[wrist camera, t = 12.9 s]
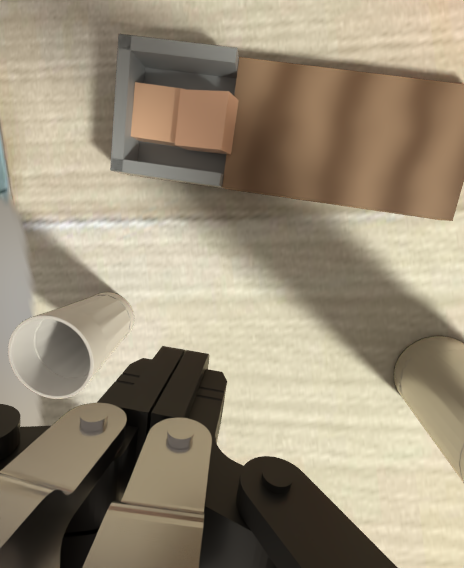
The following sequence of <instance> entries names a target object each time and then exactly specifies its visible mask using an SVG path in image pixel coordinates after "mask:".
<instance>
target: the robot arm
mask: <svg viewBox="0 0 464 568" xmlns="http://www.w3.org/2000/svg"><path fill="white" fill-rule="evenodd" d="M208 364H209V354H206V353H200V352H194V351H189V350H183V349H177V348H171V347H165V346H162V347H161V349H160V350H159V351H158V353H157V354H156V355H155V357H154V358H153V359H152V360H151V359H145V358H142V359H140V360H138V361H136V362H134V363H132V364H130V365H129V366H128V367H127V369H126V370H125V371H124V372H123V374H121V375H120V377H119V378H118V379H117V381H116V382H114V383H113V385H112V386H111V387H110V388H109V389H108V390H107V392H106V393H105V394H104V395H103V396H102V397H101V398H100V400H99V401H98V402H97V403H89V404H84V405H81V406H78V407H75V408H73V409H71V410H70V411H68V412H67V413H66V414H64V415H63V416H62V417H61V418H60V419H59V420H58V421H56V422H55V423H54V424H53V425H52V426H35V427H20V413H19V411H18V410H17V409H15V408H14V407H11V406H8V405H4V404H0V568H397V567H396V566H395V565H394V564H393V563H392V562H391V561H390V560H389V559H388V558H387V557H386V556H385V555H384V554H383V553H382V552H381V551H380V550H379V549H378V548H377V546H376V545H375V544H374V543H373V542H372V541H371V540H370V539H369V538H368V537H367V536H366V535H365V534H364V533H363V532H362V531H361V530H360V529H359V528H358V527H357V526H356V525H355V524H354V523H353V522H352V521H351V520H350V519H349V518H348V517H347V516H346V515H345V514H344V513H343V512H342V511H341V510H340V509H339V508H338V507H337V506H336V505H335V504H334V503H333V502H332V501H331V500H330V499H329V498H328V497H327V496H326V495H325V494H324V493H323V492H322V491H321V490H320V489H319V488H318V487H317V486H316V485H315V484H314V483H313V482H312V481H311V480H310V479H309V478H308V477H307V476H306V475H305V474H304V473H303V472H302V471H301V470H300V469H299V468H298V467H296V466H295V465H293V464H292V463H290V462H288V461H286V460H283V459H280V458H276V457H269V456H264V457H258V458H254V459H252V460H250V461H249V462H247V463H246V464H245V465H244V466H243V465H241V464H239V463H236V462H235V461H233V460H231V459H230V458H228V457H227V456H226V455H224V454H223V453H222V452H221V450H220V449H219V447H218V446H217V438H218V434H219V429H220V424H221V417H222V411H223V404H224V398H225V392H226V385H227V380H226V378H225V376H224V375H223V373H222V372H219V371H213V370H208ZM394 382H395V385H396V388H397V390H398V392H399V393H400V395H401V396H402V398H403V399H404V401H405V402H406V403H407V405H408V406H409V407H410V409H411V410H412V412H413V413H414V415H415V416H416V417H417V419H418V420H419V422H420V423H421V424H422V426H423V427H424V429H425V430H426V431H427V433H428V434H429V435H430V437H431V438H432V440H433V441H434V442H435V444H436V445H437V447H438V448H439V449H440V451H441V452H442V454H443V455H444V456H445V458H446V459H447V460H448V462H449V463H450V465H451V466H452V467H453V469H454V470H455V472H456V473H457V474H458V476H459V477H460V478H461V480H462V481H463V483H464V343H462V342H461V341H459V340H456V339H454V338H451V337H445V336H433V337H428V338H424V339H421V340H419V341H417V342H415V343H413V344H412V345H410V346H409V347H408V348H407V349H406V350H405V351H404V352H403V353H402V354H401V356H400V357H399V359H398V360H397V363H396V366H395V370H394Z"/></svg>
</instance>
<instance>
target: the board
mask: <svg viewBox="0 0 464 568" xmlns="http://www.w3.org/2000/svg"><path fill="white" fill-rule="evenodd" d="M234 96H235V97H236V98H237V99H238V100H239V102H238V109H237V116H236V123H235V130H234V137H233V144H232V151H231V155H229V154H226V162H225V169H224V177H223V185H222V188H224V189H230V190H237V191H244V192H251V193H258V194H265V195H272V196H279V197H285V198H292V199H299V200H306V201H313V202H320V203H327V204H334V205H341V206H348V207H354V208H361V209H368V210H375V211H382V212H389V213H396V214H403V215H410V216H417V217H423V218H430V219H437V220H449V221H453V217H454V214H455V210H456V206H457V203H458V199H459V196H460V192H461V189H462V185H463V182H464V84H458V83H450V82H441V81H433V80H425V79H417V78H408V77H400V76H392V75H384V74H375V73H367V72H359V71H351V70H342V69H334V68H326V67H317V66H309V65H301V64H293V63H284V62H276V61H268V60H260V59H251V58H243V57H239V63H238V71H237V79H236V86H235V94H234Z"/></svg>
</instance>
